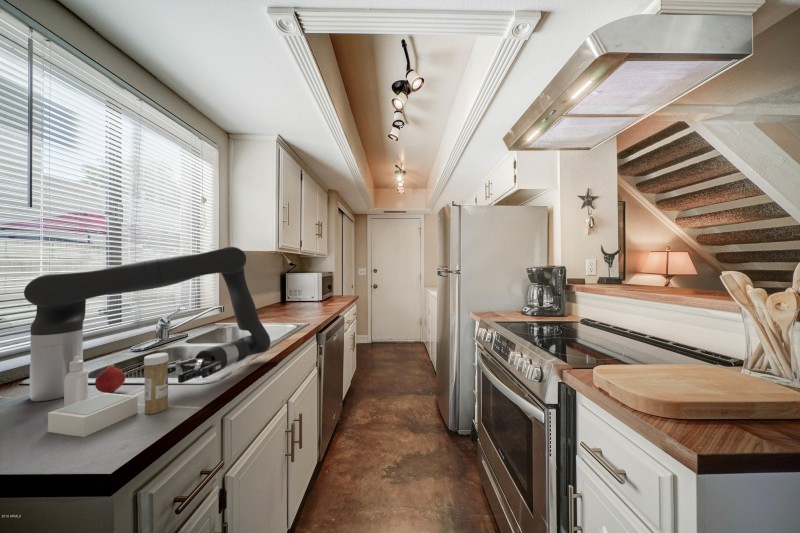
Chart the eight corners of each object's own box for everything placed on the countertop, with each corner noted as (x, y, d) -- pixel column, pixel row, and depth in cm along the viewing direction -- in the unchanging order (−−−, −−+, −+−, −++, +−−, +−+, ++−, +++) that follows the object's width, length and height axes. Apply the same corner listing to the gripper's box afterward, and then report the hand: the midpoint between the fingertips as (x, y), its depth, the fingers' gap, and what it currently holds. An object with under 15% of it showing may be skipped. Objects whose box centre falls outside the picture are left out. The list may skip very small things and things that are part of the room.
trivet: (47, 431, 60) (48, 412, 60) (105, 409, 70) (105, 392, 70) (84, 437, 58) (84, 416, 58) (137, 412, 68) (137, 395, 68)
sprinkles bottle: (167, 411, 69) (167, 355, 69) (142, 416, 66) (142, 358, 66) (169, 403, 73) (169, 350, 73) (145, 408, 70) (145, 354, 70)
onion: (105, 399, 75) (105, 369, 75) (89, 397, 77) (89, 367, 77) (130, 390, 81) (130, 362, 81) (114, 388, 82) (114, 360, 82)
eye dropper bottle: (96, 398, 76) (96, 353, 76) (71, 408, 70) (71, 360, 70) (81, 398, 76) (81, 353, 76) (54, 408, 71) (54, 359, 71)
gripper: (198, 344, 89) (142, 361, 73) (238, 346, 86) (189, 364, 70) (198, 368, 89) (142, 390, 73) (238, 371, 86) (188, 395, 70)
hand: (165, 377), depth 72 cm, fingers open, 8 cm apart
